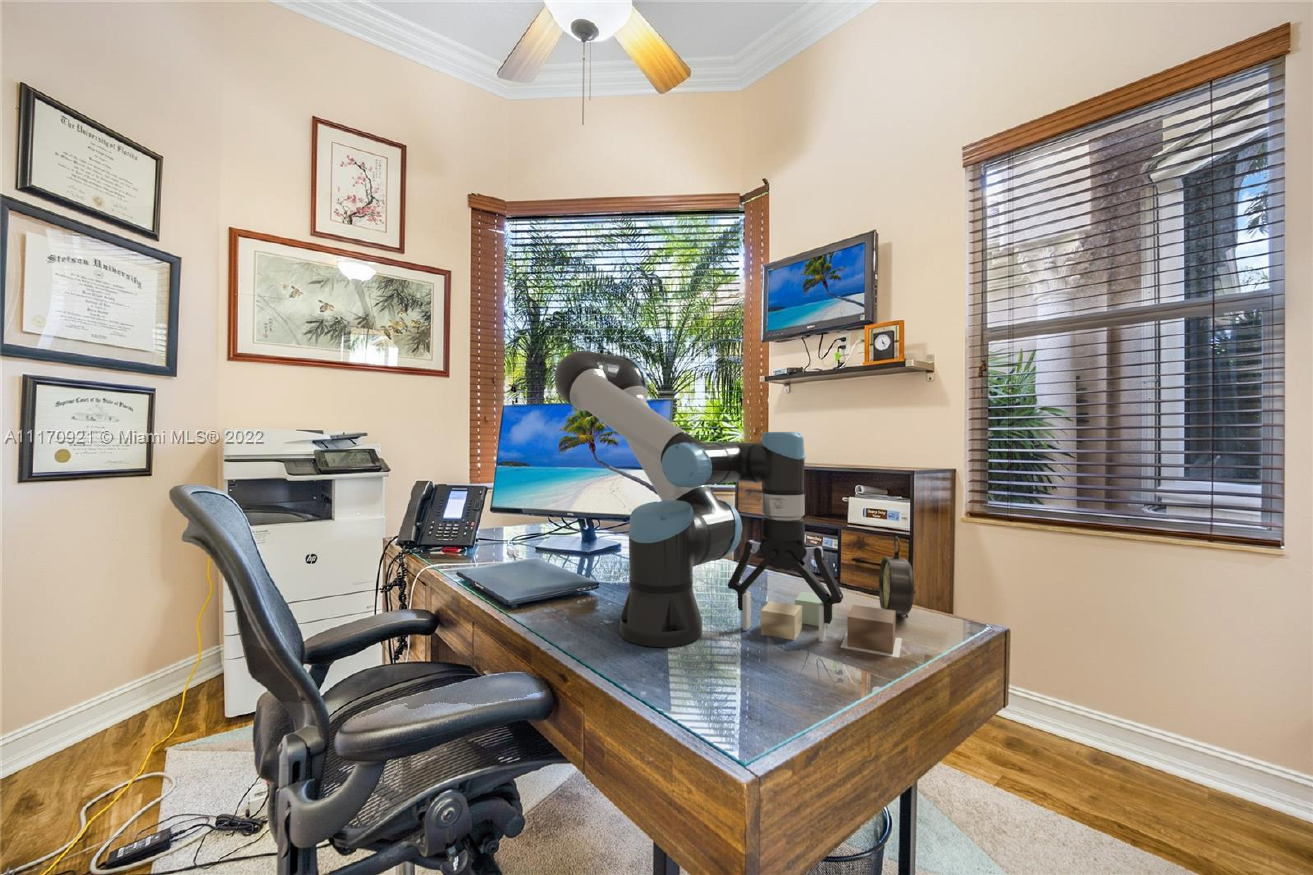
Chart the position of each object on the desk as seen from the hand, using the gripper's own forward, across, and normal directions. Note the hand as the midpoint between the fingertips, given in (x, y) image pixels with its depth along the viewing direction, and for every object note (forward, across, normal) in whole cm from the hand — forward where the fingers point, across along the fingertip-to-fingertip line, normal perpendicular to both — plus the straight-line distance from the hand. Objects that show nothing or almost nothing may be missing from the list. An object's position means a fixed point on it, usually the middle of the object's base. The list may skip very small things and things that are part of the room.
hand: (783, 634), depth 96 cm
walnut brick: (0, +15, +2) cm, 15 cm away
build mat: (0, +15, +2) cm, 15 cm away
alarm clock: (0, +18, +19) cm, 26 cm away
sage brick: (0, +4, +9) cm, 10 cm away
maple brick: (0, 0, 0) cm, 1 cm away
